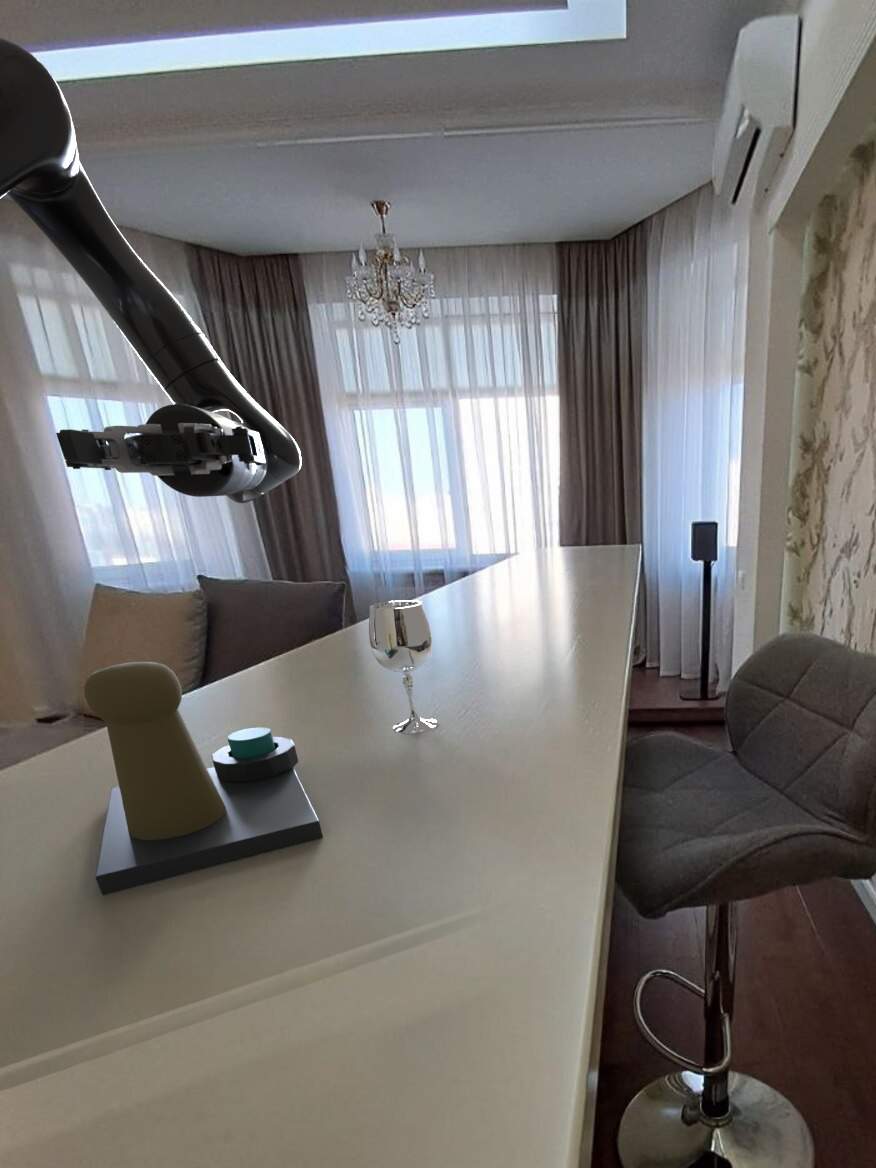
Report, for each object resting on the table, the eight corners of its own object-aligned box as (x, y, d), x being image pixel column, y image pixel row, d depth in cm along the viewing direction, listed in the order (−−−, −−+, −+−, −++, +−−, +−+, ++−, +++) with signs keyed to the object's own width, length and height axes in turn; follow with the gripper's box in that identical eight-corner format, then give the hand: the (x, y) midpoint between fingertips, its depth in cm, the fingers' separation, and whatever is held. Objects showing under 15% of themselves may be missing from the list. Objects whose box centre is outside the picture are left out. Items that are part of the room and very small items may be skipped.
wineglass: (423, 738, 65) (403, 610, 60) (374, 733, 67) (350, 609, 62) (455, 719, 70) (438, 600, 65) (408, 715, 72) (388, 599, 67)
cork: (174, 844, 44) (116, 680, 40) (107, 834, 46) (43, 675, 42) (245, 805, 50) (200, 655, 45) (182, 797, 51) (133, 652, 47)
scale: (331, 836, 48) (322, 797, 46) (102, 896, 42) (84, 854, 40) (295, 763, 61) (287, 731, 59) (117, 801, 55) (104, 766, 53)
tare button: (278, 755, 55) (272, 735, 54) (234, 764, 54) (228, 743, 53) (273, 744, 58) (267, 724, 57) (231, 752, 56) (225, 732, 56)
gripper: (111, 410, 63) (5, 387, 48) (273, 407, 65) (218, 384, 50) (137, 499, 66) (45, 502, 51) (291, 493, 68) (244, 495, 54)
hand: (131, 444), depth 51 cm, fingers open, 8 cm apart
